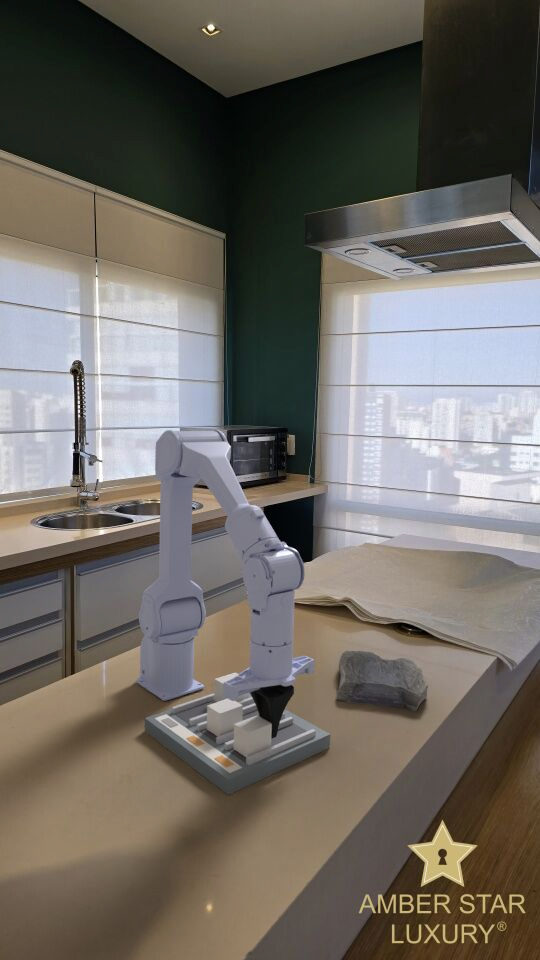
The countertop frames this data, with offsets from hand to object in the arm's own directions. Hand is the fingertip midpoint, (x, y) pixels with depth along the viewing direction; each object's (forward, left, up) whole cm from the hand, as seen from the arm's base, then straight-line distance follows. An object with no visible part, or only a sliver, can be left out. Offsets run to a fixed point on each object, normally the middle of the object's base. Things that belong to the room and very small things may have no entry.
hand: (269, 734), depth 90 cm
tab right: (0, -3, -1) cm, 3 cm away
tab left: (-13, +3, -1) cm, 13 cm away
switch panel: (-6, -1, -3) cm, 7 cm away
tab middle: (-6, -3, -1) cm, 7 cm away
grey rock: (-5, +30, -4) cm, 30 cm away
